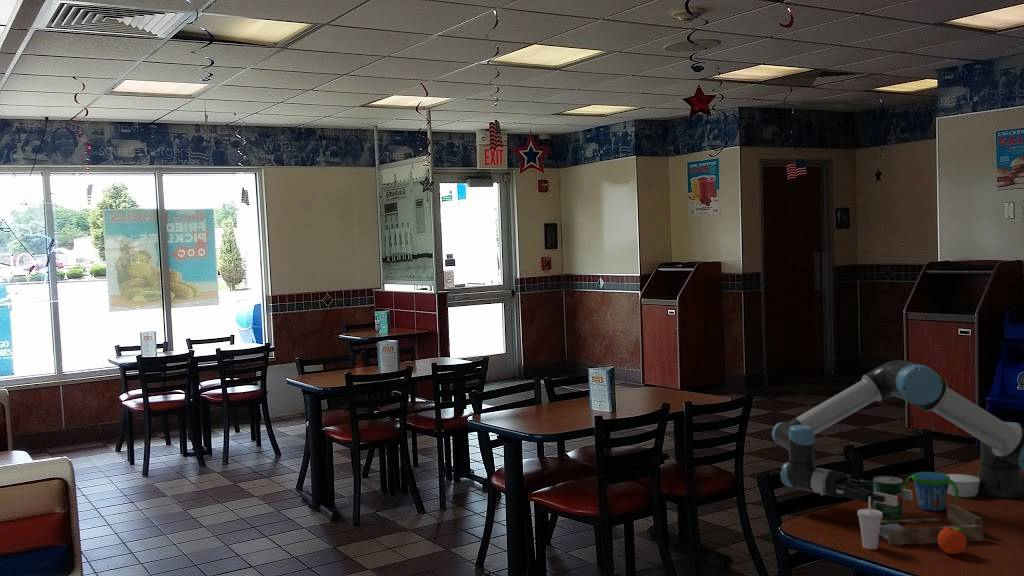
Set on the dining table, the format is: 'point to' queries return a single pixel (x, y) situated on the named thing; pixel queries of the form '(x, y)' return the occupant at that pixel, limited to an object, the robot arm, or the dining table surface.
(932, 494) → the snack cup
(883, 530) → the front pad
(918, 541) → the bay
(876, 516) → the smoothie
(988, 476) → the robot arm
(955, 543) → the clementine
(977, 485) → the ramekin
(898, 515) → the canned tomato
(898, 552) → the dining table surface
